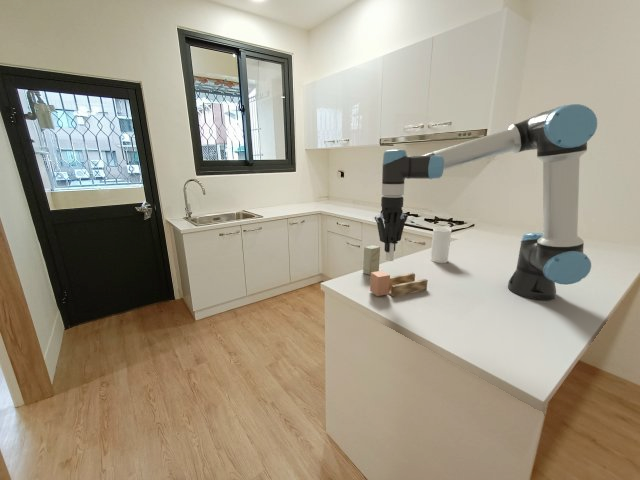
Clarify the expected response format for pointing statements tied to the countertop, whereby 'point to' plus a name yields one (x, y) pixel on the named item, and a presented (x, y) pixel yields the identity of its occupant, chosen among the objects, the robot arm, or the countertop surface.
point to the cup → (440, 245)
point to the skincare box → (371, 259)
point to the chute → (406, 285)
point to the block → (379, 283)
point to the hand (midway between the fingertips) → (389, 259)
